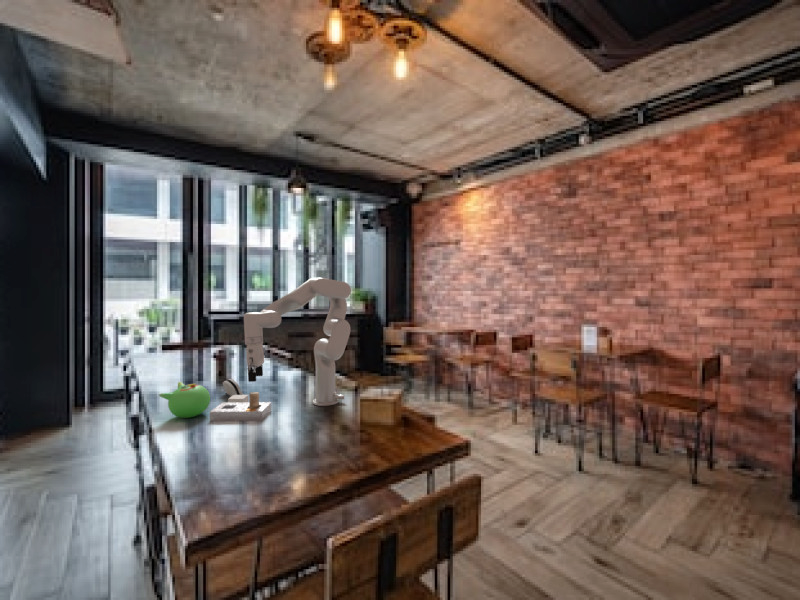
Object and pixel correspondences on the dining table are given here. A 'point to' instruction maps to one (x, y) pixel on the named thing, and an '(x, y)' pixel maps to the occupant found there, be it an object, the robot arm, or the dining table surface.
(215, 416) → the plate
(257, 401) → the peg
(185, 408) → the toy bird
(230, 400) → the beige square block
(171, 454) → the dining table surface
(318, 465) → the dining table surface
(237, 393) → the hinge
